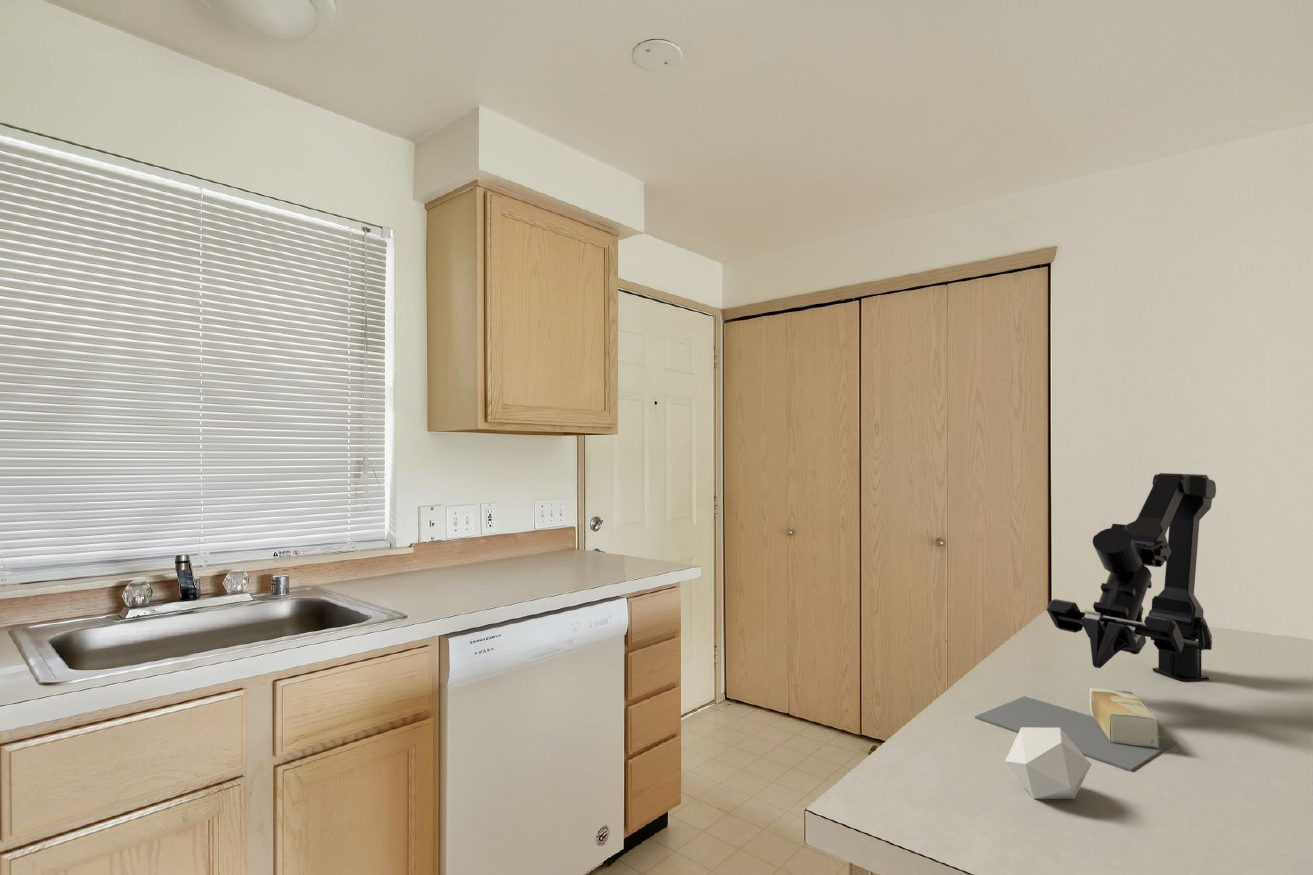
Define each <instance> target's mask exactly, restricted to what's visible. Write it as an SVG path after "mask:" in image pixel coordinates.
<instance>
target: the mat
mask: <svg viewBox="0 0 1313 875" xmlns="http://www.w3.org/2000/svg"><path fill="white" fill-rule="evenodd" d="M974 719H976V720H979V721H983V722H985V723H989V724H991V725H994V726H998V727H1001V728H1003V729H1006V730H1009V731H1012V732H1015V733H1019V731H1020V729H1021V727H1033V728H1061V729H1062V731H1063V732H1064V733H1065V734H1066V735H1067V736H1068V738H1069V739H1070V740H1071V741H1072V742H1073V743H1074V745H1075V746H1076V747H1077V748H1078V749H1079V750H1080V752H1081V753H1082V754H1083V755H1084V756H1085V757H1088V758H1091V759H1094V760H1096V761H1099V762H1102V763H1105V764H1108V765H1111V766H1113V767H1116V768H1120V769H1122V770H1125V771H1128V772H1133V771H1134V770H1136V769H1137V768H1139V767H1140V766H1142V765H1143V764H1145V763H1147V762H1148V761H1149V760H1151V759H1153V758H1155V757H1156V756H1158V755H1159V754H1161V753H1162V752H1164V751H1165V750H1167V749H1168V748H1170V747H1171V746H1173V745H1174V744H1176V740H1174V739H1169V738H1166V737H1162V736H1160V735H1159V748H1154V747H1145V746H1136V745H1128V744H1120V743H1113V742H1110V740H1109V739H1108V738H1107V736H1106V735H1105V733H1104V732H1103V730H1102V729H1101V728H1100V726H1099V725H1098V723H1097V722H1096V721H1095V719H1094V718H1093V716H1092V715H1091V714H1086V713H1083V712H1078V711H1076V710H1072V709H1069V708H1065V707H1061V706H1059V705H1055V704H1053V703H1049V702H1046V701H1043V700H1039V699H1035V698H1032V697H1029V696H1022V697H1019V698H1017V699H1014V700H1011V701H1010V702H1006V703H1003V704H1001V705H1000V706H997V707H994V708H992V709H989V710H986V711H985V712H982V713H979V714H977V715H975V716H974Z"/></svg>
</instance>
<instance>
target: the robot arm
mask: <svg viewBox="0 0 1313 875" xmlns="http://www.w3.org/2000/svg"><path fill="white" fill-rule="evenodd" d="M1216 494H1217V485H1216V482H1215V481H1214V479H1210V478H1209V476H1208V475H1207V474H1197V473H1196V474H1194V473H1192V474H1191V473H1172V472H1171V473H1169V472H1167V473H1166V472H1160V473H1156V474H1154V476H1153V479H1152V487H1151V490H1150V491H1149V494H1147V497H1146V499H1145V501H1144V503H1143V506H1142V507H1141V509H1140V511H1139V513H1138V516H1137V517H1136V519H1135V520H1134V521H1131V522H1129V523H1127V524H1122V523H1112V525H1111V527H1110V528H1105V529H1102V530H1100V531H1099V532H1097V534H1095V535H1094V536H1093V537H1092V545H1093V547H1094V549H1095V552H1096V553H1097V556H1098V558H1099V559H1100V563H1101V564H1102V566H1103V569H1105V570H1106V571H1108V572H1109V575H1108V577H1107V580H1106V582H1105V583H1104V582H1102V583H1101V585H1100V589H1101V592H1102V593H1101V595H1100V598H1099V601H1098V602H1097V601H1094V603H1093V605H1092V607H1093V609H1094V611H1093V610H1088V609H1085V610H1084V612H1083V611H1081V610H1080V608H1079V606H1078V604H1077V602H1073V601H1069V600H1068V601H1067V600H1061V599H1056V598H1055V599H1054V598H1053V599H1052V600H1050V601H1049V603H1048V605H1047V608H1046V612H1047V613H1048V615H1049V617H1050V619H1051V620H1052V622H1053V624H1054V626H1055V628H1057V629H1059V630H1061V631H1065V632H1069V633H1078V632H1081V631H1082V630H1084V631H1085V633H1086V635H1087V637H1088V638H1089V644H1090V650H1091V651H1090V653H1091V661H1092V665H1093V668H1096V669H1101V668H1102V667H1103V666H1105V664H1106V663H1108V662H1109V661H1110V660H1111V659H1112V658H1113V657H1114V656H1116V655H1117V654H1118V653H1119V652H1120V651H1122V652H1126V653H1130V654H1131V655H1139V653H1140V652H1141V651H1142V649H1143V648H1144V646H1145V645H1146V643H1147V639H1146V638H1147V637H1148V638H1150V641H1153V645H1154V646H1155V648H1157V650H1158V652H1157V654H1158V657H1157V658H1158V667H1152V671H1153V672H1156V673H1159V674H1162V675H1163V676H1167V677H1169V678H1172V679H1174V680H1175V679H1176V680H1178V681H1181V682H1187V681H1188V682H1189V681H1205V680H1210V676H1209V675H1206V674H1202V651H1206V650H1207V651H1211V650H1213V646H1212V645H1213V639H1212V638H1213V635H1212V632H1211V630H1210V628H1209V626H1208V625H1209V624H1208V622H1207V621H1206V618H1205V617H1204V608H1203V607H1202V605H1201V603H1200V602H1199V600H1198V599H1197V597H1196V595H1195V586H1196V585H1195V584H1196V570H1197V559H1198V548H1199V547H1198V544H1199V532H1200V531H1199V530H1200V521H1201V519H1202V518H1203V517H1204V516H1205V515H1206V514H1207V513H1208V512H1209V511H1210V510H1211V508H1212V503H1213V499H1215V497H1216ZM1167 532H1168V537H1166V536H1167V535H1166V534H1167ZM1167 538H1168V539H1167ZM1165 563H1166V565H1165V573H1164V574H1165V576H1164V585H1163V586H1164V587H1163V590H1162V591H1161V592H1159V594H1157V595H1154V596H1153V597H1152V598H1151V609H1150V610H1149V612H1148V615H1146V616H1145V618H1144V621H1143V615H1144V614H1143V613H1144V606H1143V602H1144V599H1145V596H1146V593H1147V590H1148V589H1152V586H1153V585H1152V580H1151V579H1152V575H1153V574H1152V572H1151V571H1150V569H1149V567H1154V568H1162V567H1163V566H1164V564H1165Z"/></svg>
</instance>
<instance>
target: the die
mask: <svg viewBox="0 0 1313 875" xmlns="http://www.w3.org/2000/svg"><path fill="white" fill-rule="evenodd" d="M1086 757H1087V756H1084V755H1083V754H1082V753H1081V752H1080V750H1079V749H1078V748H1077V747H1076V746H1075V745H1074V743H1073V742H1072V741H1071V740H1070V739H1069V738H1068V736H1067V735H1066V734H1065V733H1064V732H1063V731H1062V729H1061V728H1033V727H1021V729H1020V731H1019V733H1018V734H1017V735H1016V736H1015V739H1014V741H1013V744H1012V746H1011V748H1010V750H1009V752H1008V754H1007V757H1006V759H1005V760H1004V761H1005V763H1006V764H1007V766H1008V767H1009V768H1010V770H1011V771H1012V772H1013V774H1014V775H1015V777H1017V779H1018V781H1020V783H1022V785H1023V787H1024V788H1025V789H1026V791H1027V792H1028V794H1030V796H1031V797H1032V798H1033V800H1075V798H1076V797H1077V795H1078V792H1079V791H1080V788H1081V786H1082V784H1083V783H1084V781H1085V779H1086V776H1087V774H1088V772H1089V770H1090V768H1091V766H1092V763H1091V762H1090V760H1088V758H1086Z"/></svg>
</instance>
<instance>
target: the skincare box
mask: <svg viewBox="0 0 1313 875" xmlns="http://www.w3.org/2000/svg"><path fill="white" fill-rule="evenodd" d="M1088 697H1089V698H1088V700H1089V702H1088V703H1089V706H1088V708H1089V709H1088V710H1089V715H1090V716H1093V718H1094V719H1095V721H1096V722H1097V723H1098V725H1099V726H1100V728H1101V729H1102V730H1103V732H1104V733H1105V735H1106V736H1107V738H1108V739H1109V740H1110V742H1113V743H1120V744H1128V745H1136V746H1145V747H1154V748H1159V736H1160V726H1159V719H1158V718H1157V716H1155V715H1154V714H1153V712H1152V711H1151V710H1149V709H1148V707H1146V706H1145V704H1144V703H1143V702H1142V701H1141V700H1140V699H1139V698H1138V697H1137V696H1136V694H1134V693H1133V692H1132V691H1126V690H1125V691H1124V690H1119V689H1118V690H1117V689H1107V688H1098V687H1096V688H1095V687H1089V696H1088Z"/></svg>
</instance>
